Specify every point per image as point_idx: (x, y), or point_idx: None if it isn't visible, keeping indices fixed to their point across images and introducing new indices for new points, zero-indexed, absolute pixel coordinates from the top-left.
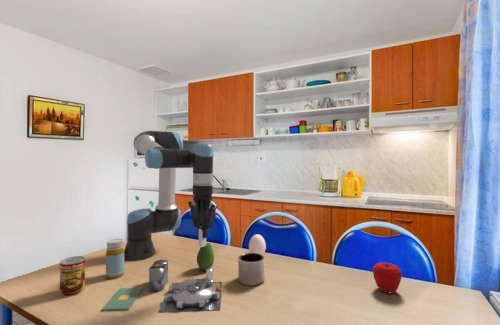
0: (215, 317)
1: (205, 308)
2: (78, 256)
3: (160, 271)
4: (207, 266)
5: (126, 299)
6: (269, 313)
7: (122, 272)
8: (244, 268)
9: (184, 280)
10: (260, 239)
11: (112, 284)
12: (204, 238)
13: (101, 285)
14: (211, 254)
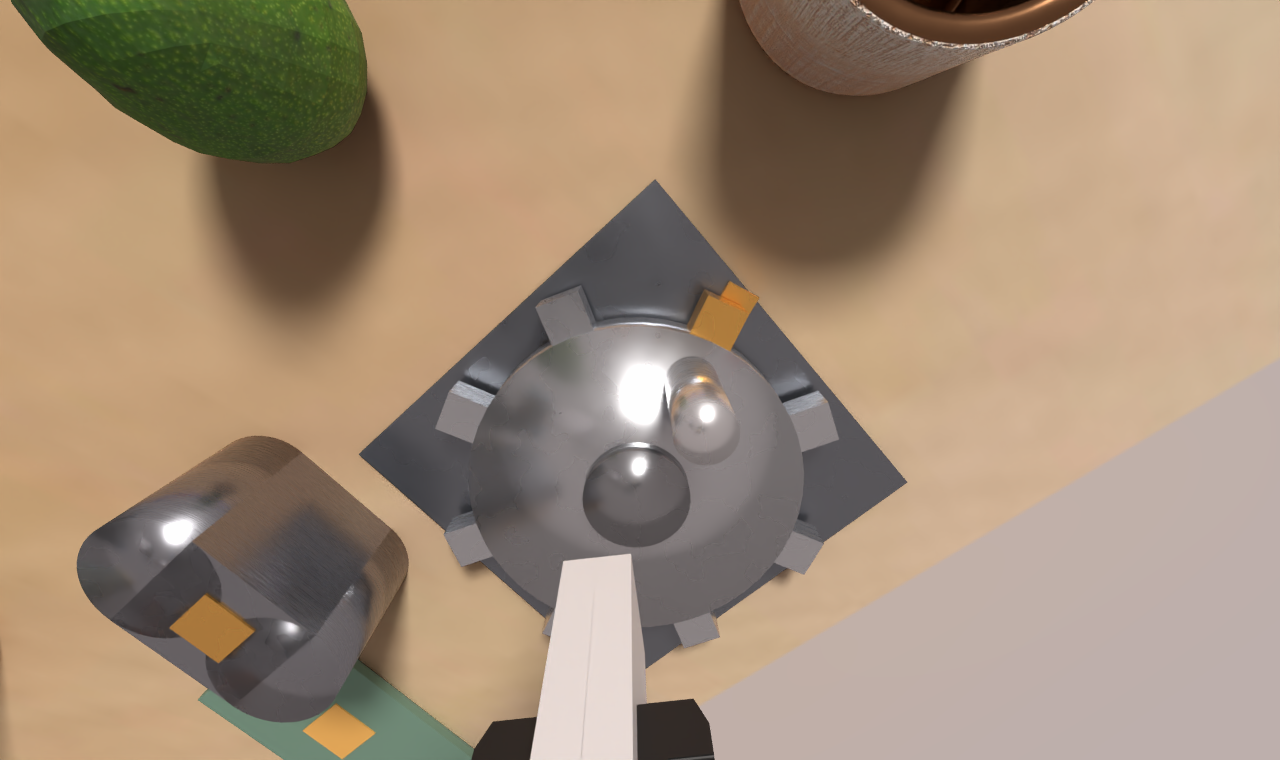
0: (925, 542)
1: (820, 525)
2: None
3: (344, 666)
4: (361, 106)
5: (374, 733)
6: (1218, 320)
7: None
8: (940, 67)
9: (440, 426)
10: None
11: (87, 686)
12: (640, 706)
13: (59, 726)
14: (291, 7)
